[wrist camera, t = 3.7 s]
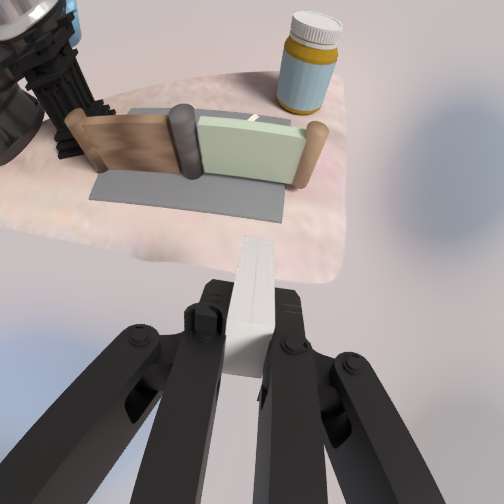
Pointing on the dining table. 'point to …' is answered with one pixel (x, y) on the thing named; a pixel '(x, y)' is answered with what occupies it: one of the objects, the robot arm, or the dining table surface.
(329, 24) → the bottle
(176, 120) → the walnut fence section
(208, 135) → the fence panel
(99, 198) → the board
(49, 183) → the dining table surface
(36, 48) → the chess piece
